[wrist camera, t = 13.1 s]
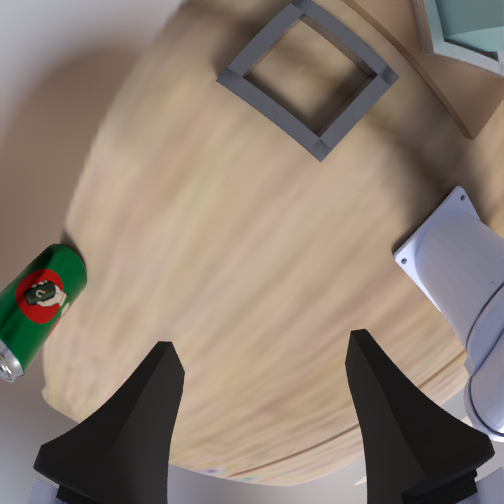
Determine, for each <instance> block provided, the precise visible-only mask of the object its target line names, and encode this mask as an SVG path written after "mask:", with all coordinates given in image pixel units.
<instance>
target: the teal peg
mask: <svg viewBox="0 0 504 504" xmlns="http://www.w3.org/2000/svg"><path fill="white" fill-rule="evenodd" d="M435 3H436V7H437V10H438V15H439V19H440V23H441V28H442V33H443V38H444V40H445V41H448V42H452V43H455V44H458V45H460V46H463V47H466V48H469V49H471V50H474V51H477V52H491V51H504V0H435Z"/></svg>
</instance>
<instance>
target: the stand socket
mask: <svg viewBox="0 0 504 504" xmlns="http://www.w3.org/2000/svg"><path fill="white" fill-rule="evenodd" d="M300 20H302V21H303V22H304V23H306V24H307V25H309V26H310V27H311V28H313V29H314V30H315V31H317V32H318V33H319V34H320V35H322V36H323V37H324V38H326V39H327V40H328V41H329V42H331V43H332V44H333V45H334V46H335V47H337V48H338V49H339V50H340V51H341V52H342V53H344V54H345V55H346V56H347V57H348V58H349V59H350V60H352V61H353V62H354V63H355V64H356V65H357V66H358V67H359V68H360V69H361V70H362V71H363V72H364V73H366V74H367V75H368V76H369V78H368V79H367V80H366V81H365V82H364V83H363V84H362V85H361V86H360V87H359V88H358V89H357V90H356V91H355V92H354V94H353V95H352V96H351V97H350V98H349V99H348V100H347V101H346V102H345V103H344V104H343V105H342V106H341V108H340V109H339V110H338V111H337V112H336V113H335V114H334V115H333V116H332V117H331V118H330V119H329V121H328V122H327V123H326V124H325V125H324V126H323V127H322V128H321V129H320V130H319V132H318V133H317V134H316V135H315V134H314V133H313V132H312V131H311V130H309V129H308V128H307V127H306V126H305V125H303V124H302V123H301V122H300V121H299V120H298V119H296V118H295V117H294V116H293V115H291V114H290V113H289V112H288V111H286V110H285V109H284V108H283V107H281V106H280V105H279V104H278V103H276V102H275V101H274V100H272V99H271V98H270V97H269V96H267V95H266V94H265V93H263V92H262V91H260V90H259V89H258V88H256V87H255V86H254V85H252V84H251V83H249V82H248V81H247V80H245V78H246V76H247V75H248V74H249V73H250V72H251V71H252V70H253V69H254V67H255V66H256V65H257V64H258V63H259V62H260V61H261V60H262V59H263V58H264V56H265V55H266V54H267V53H268V52H269V51H270V50H271V49H272V48H273V47H274V46H275V45H276V44H277V43H278V42H279V41H280V40H281V39H282V38H283V37H284V36H285V35H286V34H287V33H288V32H289V31H290V30H291V29H292V28H293V27H294V26H295V25H296V24H297V23H298V22H299V21H300ZM398 78H399V77H398V75H397V74H396V73H395V72H394V71H393V70H392V69H391V68H390V67H389V66H388V65H387V64H386V63H385V62H384V61H383V60H382V59H381V58H380V57H379V56H378V55H377V54H376V53H375V52H374V51H373V50H372V49H371V48H370V47H369V46H368V45H366V44H365V43H364V42H363V41H362V40H361V39H360V38H359V37H357V36H356V35H355V34H354V33H353V32H352V31H351V30H349V29H348V28H347V27H346V26H344V25H343V24H342V23H341V22H340V21H338V20H337V19H336V18H334V17H333V16H332V15H331V14H329V13H328V12H327V11H325V10H324V9H322V8H321V7H320V6H318V5H317V4H315V3H314V2H313V1H311V0H292V1H291V2H290V3H289V4H288V5H287V6H286V7H285V8H284V9H283V10H281V11H280V12H279V13H278V14H277V15H276V16H275V17H274V18H273V19H272V20H271V21H270V22H269V23H268V24H267V25H266V26H265V27H264V28H263V29H262V30H261V31H260V32H259V33H258V34H257V35H256V36H255V37H254V38H253V39H252V40H251V41H250V42H249V43H248V45H247V46H246V47H245V48H244V49H243V50H242V51H241V52H240V53H239V54H238V56H237V57H236V58H235V59H234V60H233V61H232V62H231V63H230V65H229V66H228V67H227V68H226V69H225V70H224V72H223V73H222V74H221V75H220V76H219V78H218V79H217V80H216V81H217V82H219V83H220V84H221V85H223V86H224V87H226V88H227V89H229V90H230V91H232V92H233V93H234V94H236V95H237V96H239V97H240V98H242V99H243V100H244V101H246V102H247V103H248V104H250V105H251V106H252V107H254V108H255V109H257V110H258V111H259V112H260V113H262V114H263V115H264V116H266V117H267V118H268V119H270V120H271V121H272V122H273V123H275V124H276V125H277V126H278V127H280V128H281V129H282V130H283V131H285V132H286V133H287V134H288V135H290V136H291V137H292V138H293V139H294V140H296V141H297V142H298V143H299V144H300V145H302V146H303V147H304V148H305V149H306V150H307V151H309V152H310V153H311V154H312V155H313V156H314V157H315V158H317V159H318V160H319V161H320V162H322V161H323V159H324V158H325V157H326V156H327V155H328V154H329V153H330V152H331V151H332V150H333V148H334V147H335V146H336V145H337V144H338V143H339V142H340V141H341V140H342V139H343V137H344V136H345V135H346V134H347V133H348V132H349V131H350V130H351V129H352V128H353V127H354V125H355V124H356V123H357V122H358V121H359V120H360V119H361V118H362V117H363V116H364V115H365V113H366V112H367V111H368V110H369V109H370V108H371V107H372V106H373V105H374V104H375V103H376V102H377V100H378V99H379V98H380V97H381V96H382V95H383V94H384V93H385V92H386V91H387V90H388V89H389V88H390V86H391V85H392V84H393V83H394V82H395V81H396V80H397V79H398Z"/></svg>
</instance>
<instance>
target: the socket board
mask: <svg viewBox="0 0 504 504" xmlns="http://www.w3.org/2000/svg"><path fill="white" fill-rule="evenodd" d="M342 1H344V2H345V3H346V4H348V5H349V6H350V7H351V8H353V9H354V10H355V11H356V12H357V13H359V14H360V15H361V16H362V17H363V18H365V19H366V20H367V21H368V22H369V23H370V24H371V25H373V26H374V27H375V28H376V29H377V30H378V31H379V32H380V33H381V34H382V35H383V36H384V37H386V38H387V39H388V40H389V41H390V42H391V43H392V44H393V45H394V46H395V47H396V48H397V49H398V50H399V52H400V53H401V54H402V55H403V56H404V57H405V58H406V59H407V60H408V61H409V62H410V63H411V64H412V66H413V67H414V68H415V69H416V70H417V71H418V73H419V74H420V75H421V76H422V77H423V78H424V80H425V81H426V82H427V83H428V85H429V86H430V87H431V88H432V90H433V91H434V92H435V94H436V95H437V96H438V97H439V99H440V100H441V102H442V103H443V104H444V106H445V107H446V108H447V110H448V111H449V113H450V114H451V116H452V117H453V119H454V120H455V122H456V123H457V125H458V126H459V128H460V129H461V131H462V132H463V134H464V136H465V137H466V138H468V139H472V140H474V139H475V138H476V136H477V135H478V134H479V132H480V131H481V130H482V128H483V127H484V126H485V124H486V123H487V122H488V120H489V119H490V117H491V116H492V115H493V113H494V112H495V110H496V109H497V107H498V106H499V105H500V103H501V102H502V100H503V99H504V51H491V52H477V51H474V50H471V49H469V48H466V47H463V46H460V45H458V44H455V43H452V42H448V41H445V40H444V38H443V33H442V28H441V23H440V19H439V15H438V10H437V7H436V3H435V0H342Z"/></svg>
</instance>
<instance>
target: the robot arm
mask: <svg viewBox="0 0 504 504" xmlns="http://www.w3.org/2000/svg"><path fill="white" fill-rule="evenodd" d="M461 196H462V199H460V198H461ZM404 258H405V260H404V261H402V259H404ZM394 260H395V261H396V262H397V263H398V264H399V265H400V267H401V268H402V269H403V270H404V271H405V272H406V273H407V274H408V275H409V276H410V277H411V279H412V280H413V281H414V282H415V283H416V284H417V285H418V286H419V288H420V289H421V290H422V291H423V292H424V293H425V295H426V296H427V297H428V298H429V299H430V300H431V302H432V303H433V304H434V305H435V306H436V308H437V309H438V310H439V311H441V312H442V313H443V315H444V316H445V318H446V319H447V321H448V322H449V324H450V325H451V327H452V329H453V330H454V332H455V333H456V335H457V337H458V338H459V340H460V342H461V343H462V345H463V347H464V348H465V350H466V352H467V353H468V356H467V359H466V361H465V362H464V365H465V367H466V369H467V371H468V373H469V375H470V377H469V378H468V380H467V383H466V385H465V390H464V404H465V408H466V412H467V414H468V417H469V419H470V421H471V422H472V424H473V426H474V427H475V428H476V429H474V428H472V427H470V426H468V425H467V424H465V423H463V422H462V421H460V420H458V419H457V418H455V417H453V416H452V415H451V414H449V413H447V412H446V411H445V410H444V409H442V408H441V407H439V406H438V405H437V404H435V403H434V402H433V401H432V400H431V399H429V398H428V397H427V396H426V395H425V394H424V393H422V392H421V391H420V390H419V389H418V388H417V387H416V386H415V385H414V384H413V383H412V382H411V381H410V380H409V379H408V378H407V377H406V376H405V375H404V374H403V373H402V372H401V371H400V370H399V368H398V367H397V366H396V365H395V364H394V363H393V362H392V361H391V359H390V358H389V357H388V356H387V355H386V353H385V352H384V351H383V350H382V349H381V347H380V346H379V345H378V344H377V342H376V341H375V340H374V339H373V337H372V336H371V335H370V333H369V332H368V331H367V330H366V329H361V330H353V331H351V333H350V339H349V345H348V350H347V356H346V361H345V366H346V372H347V378H348V384H349V388H350V391H351V395H352V399H353V402H354V406H355V409H356V413H357V416H358V420H359V424H360V428H361V432H362V437H363V444H364V452H365V461H366V473H367V504H504V470H503V468H502V467H500V468H499V469H497V470H496V471H494V472H492V473H491V474H489V475H488V476H486V477H485V478H483V479H481V480H479V481H477V482H476V483H475V479H474V478H475V477H477V471H476V469H477V468H478V467H480V466H481V465H483V464H484V463H485V462H487V461H488V460H489V459H491V458H492V457H493V456H494V454H495V452H494V449H493V446H492V443H491V440H495V441H500V442H504V239H503V238H502V237H501V236H499V235H498V234H497V233H495V232H494V231H493V230H492V229H490V228H489V227H488V226H486V225H485V224H484V223H482V222H481V220H480V218H479V216H478V215H477V213H476V211H475V209H474V207H473V205H472V203H471V201H470V199H469V198H468V196H467V194H466V192H465V191H464V189H463V188H462V187H460V186H456V187H455V188H454V189H453V191H452V192H451V193H450V194H449V195H448V196H447V198H446V199H445V200H444V201H443V202H442V203H441V204H440V206H439V207H438V208H437V209H436V210H435V211H434V212H433V213H432V214H431V216H430V217H429V218H428V219H427V220H426V221H425V222H424V223H423V224H422V225H421V226H420V227H419V228H418V229H417V231H416V232H415V233H414V234H413V235H412V236H411V237H410V238H409V239H408V240H407V241H406V242H405V243H404V244H403V245H402V246H401V247H400V248H399V249H398V250H397V251H396V252H395V253H394ZM401 261H402V262H401ZM184 375H185V371H184V369H183V367H182V364H181V362H180V360H179V358H178V355H177V353H176V351H175V348H174V346H173V344H172V342H164V341H158V342H157V344H156V345H155V346H154V347H153V348H152V350H151V351H150V352H149V353H148V355H147V356H146V357H145V359H144V360H143V361H142V362H141V364H140V365H139V366H138V367H137V368H136V370H135V371H134V372H133V373H132V374H131V376H130V377H129V378H128V379H127V380H126V382H125V383H124V384H123V385H122V386H121V387H120V388H119V389H118V390H117V391H116V393H115V394H114V395H113V396H112V397H111V398H110V399H109V400H108V401H107V402H106V403H105V404H103V405H102V406H101V407H100V408H99V409H98V410H97V411H96V412H94V413H93V414H92V415H90V416H89V417H88V418H87V419H85V420H84V421H83V422H81V423H80V424H79V425H77V426H76V427H74V428H73V429H71V430H70V431H68V432H66V433H65V434H63V435H61V436H60V437H57V438H56V439H53V440H51V441H50V442H47V443H45V444H43V445H41V448H40V450H39V453H38V455H37V458H36V460H35V463H34V466H33V468H34V469H35V470H36V471H38V472H39V473H40V474H42V475H44V476H45V477H47V478H49V479H50V480H52V481H54V482H55V483H57V484H59V485H60V486H59V489H57V488H55V487H54V486H52V485H50V484H48V483H46V482H44V481H43V480H41V479H39V478H37V477H36V478H35V480H34V483H33V486H32V489H31V492H30V495H29V499H28V502H27V504H167V476H168V461H169V451H170V443H171V438H172V433H173V429H174V425H175V421H176V417H177V413H178V409H179V405H180V401H181V397H182V392H183V384H184ZM490 439H491V440H490Z"/></svg>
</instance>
